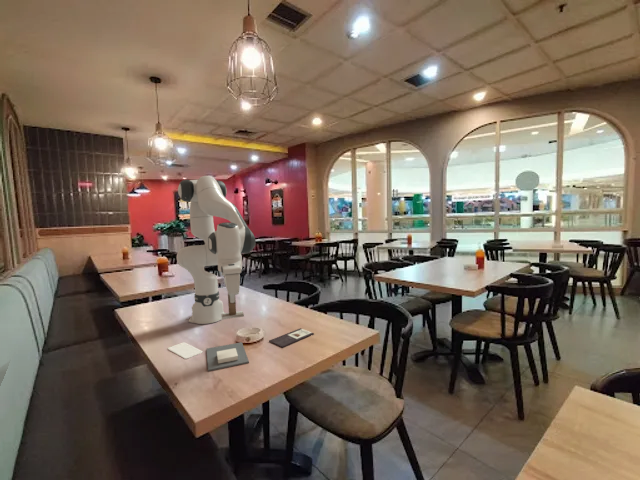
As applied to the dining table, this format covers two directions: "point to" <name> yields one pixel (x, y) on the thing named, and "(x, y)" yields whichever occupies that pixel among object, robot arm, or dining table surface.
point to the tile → (227, 355)
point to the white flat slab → (185, 350)
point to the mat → (214, 364)
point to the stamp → (232, 311)
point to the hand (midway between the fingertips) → (231, 300)
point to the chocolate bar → (291, 338)
